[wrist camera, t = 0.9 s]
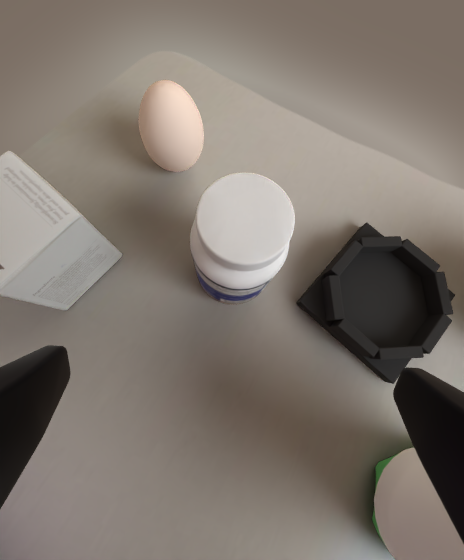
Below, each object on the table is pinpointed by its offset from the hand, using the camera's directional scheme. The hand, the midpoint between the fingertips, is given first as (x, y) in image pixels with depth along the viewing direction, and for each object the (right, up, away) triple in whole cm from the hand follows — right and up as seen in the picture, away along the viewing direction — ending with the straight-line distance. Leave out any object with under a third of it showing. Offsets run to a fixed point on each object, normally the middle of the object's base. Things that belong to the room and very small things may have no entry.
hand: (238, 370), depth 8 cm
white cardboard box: (-13, +4, +15) cm, 20 cm away
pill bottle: (0, +3, +15) cm, 16 cm away
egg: (-5, +13, +17) cm, 22 cm away
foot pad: (+11, +1, +15) cm, 19 cm away
